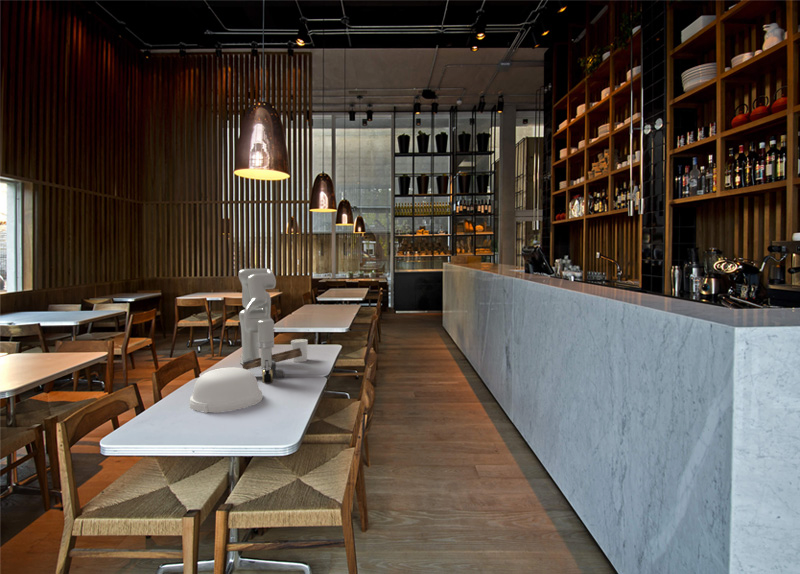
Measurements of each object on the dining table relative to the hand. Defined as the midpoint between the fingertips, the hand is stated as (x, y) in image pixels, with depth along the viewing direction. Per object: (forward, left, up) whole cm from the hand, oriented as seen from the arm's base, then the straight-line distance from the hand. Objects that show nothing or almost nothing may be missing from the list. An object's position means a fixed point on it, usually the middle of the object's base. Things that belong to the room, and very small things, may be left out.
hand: (267, 380), depth 240 cm
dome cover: (+13, -29, -1) cm, 32 cm away
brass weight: (0, 0, -1) cm, 1 cm away
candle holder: (-25, +40, -1) cm, 47 cm away
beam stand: (-9, +10, -1) cm, 13 cm away
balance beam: (-9, +10, +7) cm, 15 cm away
